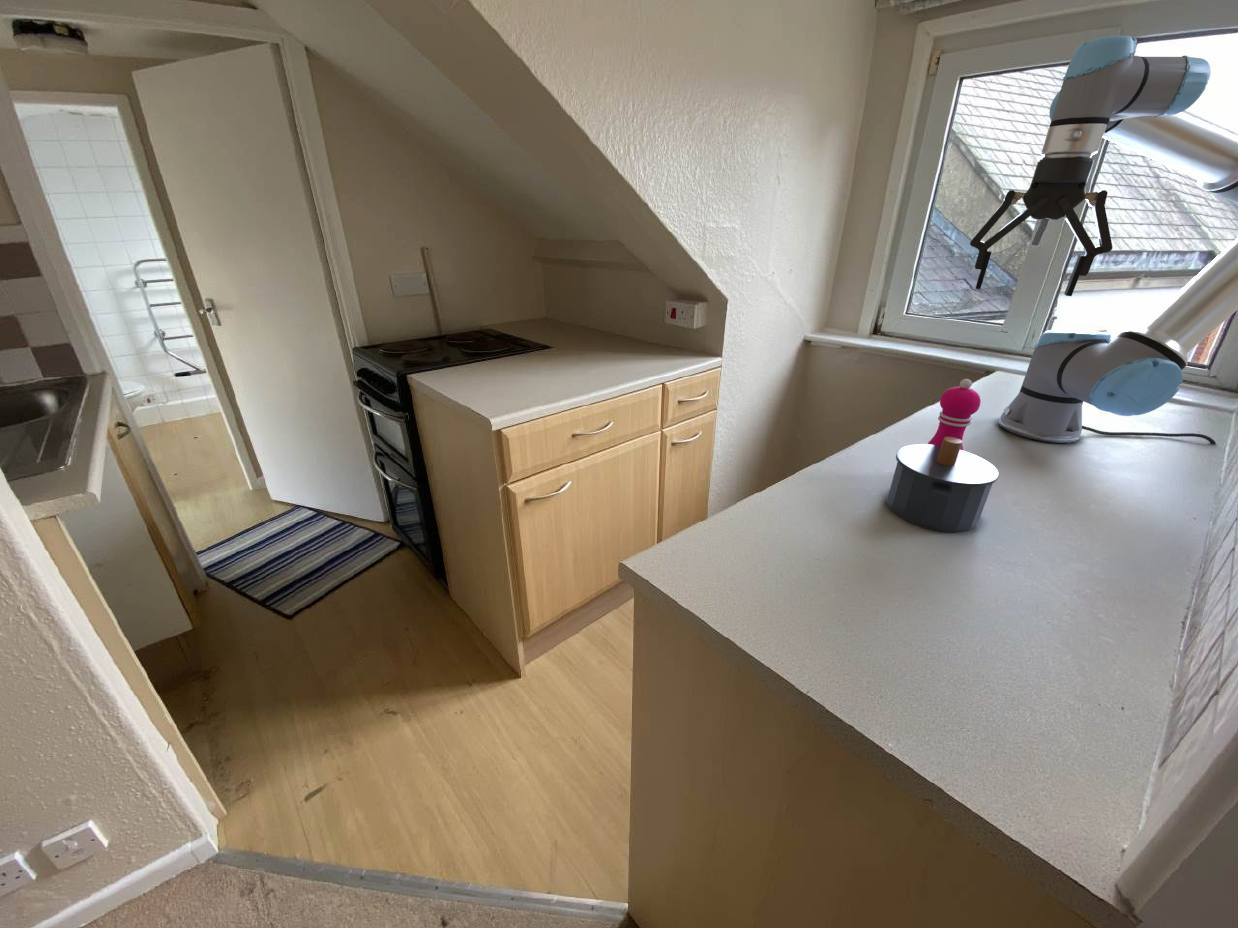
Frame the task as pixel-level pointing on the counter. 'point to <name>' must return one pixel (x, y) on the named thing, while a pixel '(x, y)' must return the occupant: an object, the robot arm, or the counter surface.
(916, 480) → the pot
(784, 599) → the counter surface
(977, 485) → the pot lid
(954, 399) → the pepper mill
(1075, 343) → the robot arm
